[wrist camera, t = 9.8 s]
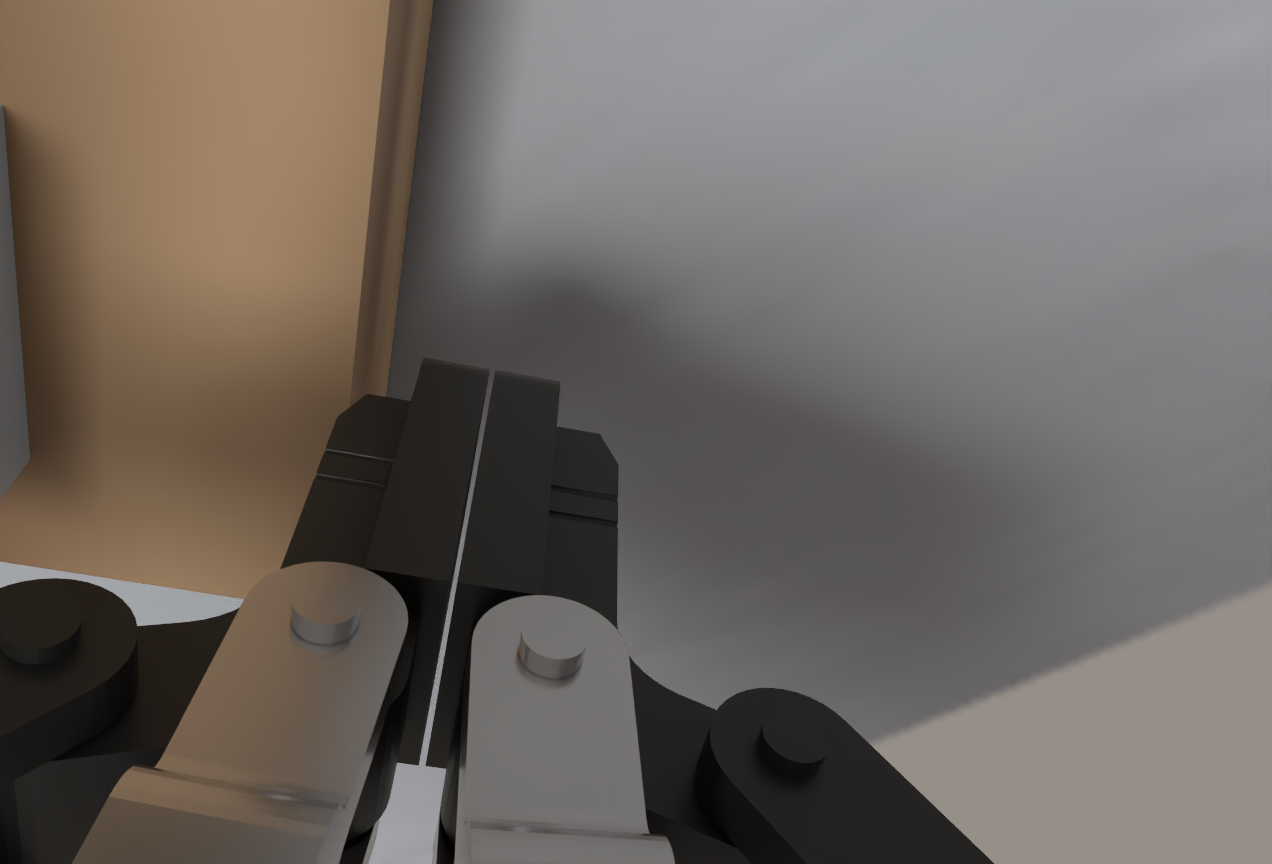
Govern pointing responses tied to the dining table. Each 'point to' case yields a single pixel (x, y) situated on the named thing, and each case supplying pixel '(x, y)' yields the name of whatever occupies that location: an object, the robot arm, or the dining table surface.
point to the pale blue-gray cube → (10, 343)
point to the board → (198, 267)
